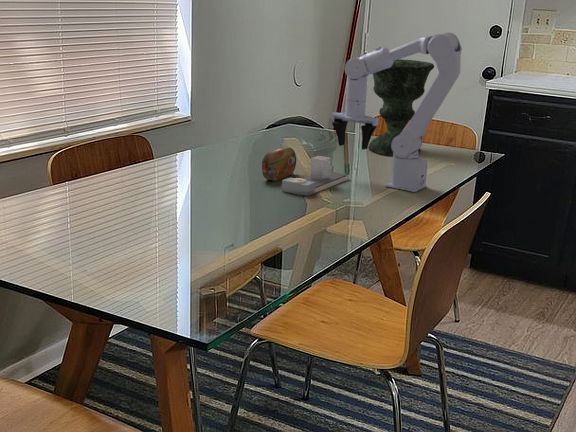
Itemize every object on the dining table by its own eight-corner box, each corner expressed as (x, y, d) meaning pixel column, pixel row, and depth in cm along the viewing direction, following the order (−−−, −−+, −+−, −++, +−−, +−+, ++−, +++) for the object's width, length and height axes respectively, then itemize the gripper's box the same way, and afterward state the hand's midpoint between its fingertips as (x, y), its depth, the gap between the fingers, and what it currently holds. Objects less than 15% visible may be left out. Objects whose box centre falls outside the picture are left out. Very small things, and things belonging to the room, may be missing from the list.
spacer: (329, 178, 213) (330, 157, 211) (322, 181, 210) (323, 160, 208) (317, 175, 215) (318, 155, 213) (310, 178, 212) (311, 158, 210)
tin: (268, 183, 212) (269, 154, 209) (259, 181, 213) (260, 153, 211) (296, 173, 224) (297, 145, 221) (287, 171, 225) (288, 144, 223)
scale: (348, 179, 219) (349, 167, 218) (306, 196, 200) (306, 183, 199) (325, 174, 223) (325, 163, 222) (281, 191, 204) (281, 178, 203)
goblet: (350, 151, 255) (355, 61, 246) (381, 140, 273) (387, 57, 263) (408, 161, 243) (416, 68, 234) (437, 150, 261) (445, 63, 252)
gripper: (326, 99, 213) (324, 145, 218) (371, 105, 206) (368, 153, 210) (339, 96, 219) (336, 141, 223) (383, 102, 211) (380, 149, 216)
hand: (352, 147), depth 217 cm, fingers open, 7 cm apart
